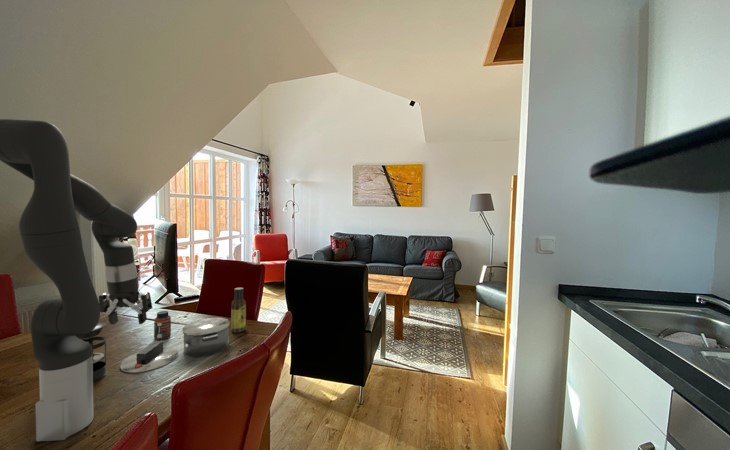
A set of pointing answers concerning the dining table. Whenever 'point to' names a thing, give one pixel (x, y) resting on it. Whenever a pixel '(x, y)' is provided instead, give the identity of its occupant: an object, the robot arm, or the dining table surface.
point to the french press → (98, 365)
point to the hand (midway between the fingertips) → (128, 323)
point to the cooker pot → (206, 337)
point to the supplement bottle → (162, 326)
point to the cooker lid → (149, 358)
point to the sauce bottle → (238, 311)
